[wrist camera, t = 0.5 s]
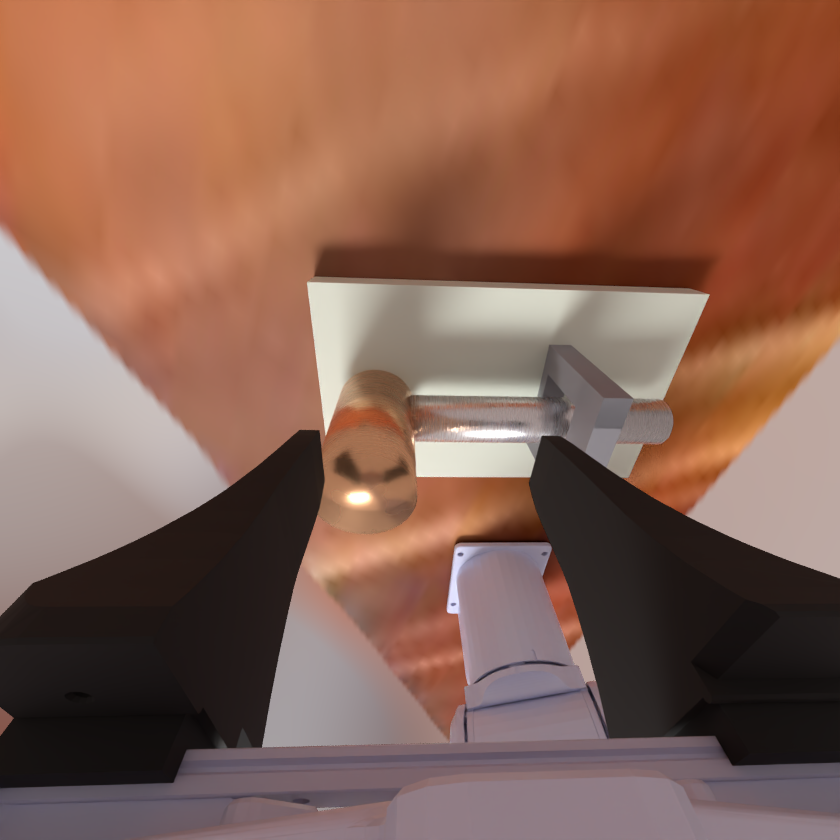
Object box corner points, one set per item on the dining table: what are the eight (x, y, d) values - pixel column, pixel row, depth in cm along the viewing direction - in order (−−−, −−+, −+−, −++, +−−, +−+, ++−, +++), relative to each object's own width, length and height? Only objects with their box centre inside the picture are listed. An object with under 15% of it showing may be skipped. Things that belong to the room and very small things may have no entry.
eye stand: (617, 463, 25) (689, 553, 19) (334, 462, 24) (309, 555, 18) (689, 288, 19) (834, 332, 13) (313, 276, 18) (263, 317, 12)
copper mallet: (627, 437, 21) (719, 533, 15) (342, 434, 20) (314, 534, 14) (653, 374, 19) (771, 456, 13) (336, 369, 18) (301, 453, 12)
